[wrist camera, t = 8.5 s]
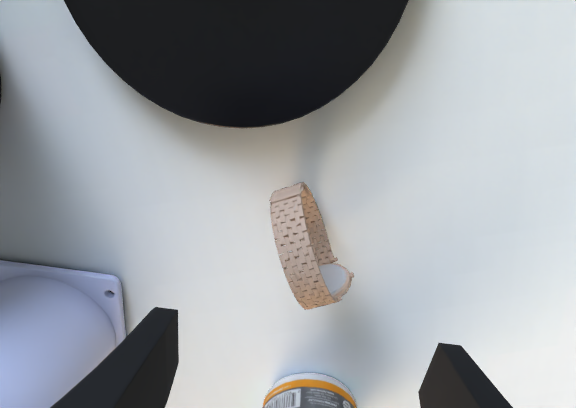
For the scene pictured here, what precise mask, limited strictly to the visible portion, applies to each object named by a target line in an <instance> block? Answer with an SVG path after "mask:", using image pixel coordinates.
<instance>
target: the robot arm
mask: <svg viewBox="0 0 576 408" xmlns="http://www.w3.org/2000/svg"><path fill="white" fill-rule="evenodd" d="M109 290H110V291H112V292H113V293H111V292H110V291H109ZM178 362H179V361H178V310H174V309H166V308H158V307H155V308H154V309H152V310H151V311H150V312H149V313H148V315H147V316H146V317H145V318H144V319H143V320H142V321H141V322H140V323H139V324H138V325H137V326H136V328H135V329H134V330H133V331H132V332H131V333H130V334H129V335H128V336H127V337H126V331H125V320H124V309H123V298H122V287H121V282H120V280H119V279H118V278H117V277H116V276H114V275H109V274H102V273H94V272H86V271H79V270H71V269H63V268H56V267H48V266H40V265H33V264H25V263H18V262H10V261H2V260H0V408H165V405H166V403H167V400H168V397H169V394H170V390H171V387H172V384H173V380H174V377H175V373H176V370H177V366H178ZM419 399H420V406H421V408H513V407H512V406H511V405H510V404H509V403H508V401H507V400H506V399H505V398H504V397H503V396H502V394H501V393H500V392H499V391H498V390H497V388H496V387H495V386H494V385H493V384H492V382H491V381H490V380H489V379H488V378H487V376H486V375H485V374H484V373H483V371H482V370H481V369H480V368H479V367H478V365H477V364H476V363H475V362H474V361H473V359H472V358H471V357H470V356H469V355H468V353H467V352H466V351H465V350H464V349H463V348H462V346H460V345H452V344H444V343H439V344H438V346H437V348H436V351H435V353H434V356H433V358H432V361H431V363H430V366H429V368H428V370H427V373H426V375H425V378H424V380H423V383H422V385H421V388H420V390H419Z"/></svg>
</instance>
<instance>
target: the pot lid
mask: <svg viewBox="0 0 576 408" xmlns="http://www.w3.org/2000/svg"><path fill="white" fill-rule="evenodd" d="M408 1H409V0H64V2H65V3H66V5H67V7H68V9H69V11H70V13H71V15H72V17H73V18H74V20H75V22H76V24H77V25H78V27H79V28H80V30H81V31H82V33H83V34H84V36H85V37H86V39H87V40H88V42H89V43H90V45H91V46H92V47H93V48H94V49H95V51H96V52H97V53H98V54H99V56H100V57H101V58H102V59H103V60H104V62H105V63H106V64H107V65H108V66H109V67H110V68H111V69H112V70H113V71H114V72H115V73H116V74H117V75H118V76H119V77H120V78H121V79H122V80H123V81H125V82H126V83H127V84H128V85H130V86H131V87H132V88H134V89H135V90H136V91H137V92H139V93H140V94H141V95H143V96H144V97H146V98H147V99H149V100H151V101H152V102H154V103H156V104H157V105H159V106H160V107H162V108H164V109H167V110H169V111H171V112H173V113H175V114H177V115H179V116H182V117H185V118H188V119H191V120H194V121H197V122H200V123H204V124H209V125H214V126H219V127H230V128H256V127H265V126H270V125H276V124H281V123H284V122H287V121H290V120H294V119H297V118H300V117H302V116H304V115H306V114H309V113H311V112H313V111H315V110H317V109H319V108H321V107H322V106H324V105H326V104H327V103H329V102H330V101H332V100H333V99H335V98H336V97H338V96H339V95H341V94H342V93H343V92H344V91H345V90H346V89H348V88H349V87H350V86H351V85H352V84H354V83H355V82H356V81H357V80H358V79H359V78H360V77H361V76H362V75H363V73H364V72H365V71H366V70H367V69H368V68H369V67H370V66H371V65H372V64H373V62H374V61H375V60H376V58H377V57H378V55H379V54H380V53H381V51H382V50H383V49H384V47H385V46H386V44H387V43H388V41H389V39H390V38H391V36H392V34H393V32H394V31H395V29H396V27H397V25H398V23H399V22H400V19H401V17H402V15H403V12H404V10H405V8H406V5H407V3H408Z"/></svg>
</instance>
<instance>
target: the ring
mask: <svg viewBox="0 0 576 408" xmlns="http://www.w3.org/2000/svg"><path fill="white" fill-rule="evenodd" d="M269 201H271V202H270V203H271V207H270V210H271V220H272V228H273V233H274V239H275V240H276V241H275V243H276V247H277V250H278V254H282V253H283V254H282V255H279V258H280V261H281V264H282V267H283V268H284V273H285V276H286V278H287V281H288V282H289V285H290V288H291V290H292V292H293V293H294V296H295V298H296V299H297V301H298V302H299V304H300V305H301V306H302V307H303V308H304V309H305V310H306V309H312V308H314V307H320V306H324V305H328V304H331V303H336V302H339V301H340V300H342V298H341V297H342V296H343V295H344V294H346V293H347V291H348V289H349V288H350V286H351V281H352V278H353V277H354V274H353V273H349V271H348V270H347V269H346V268H345V267H343V266H341V265H339V264H332V263H333V262H336V261H337V260H338V259H337V257H336V258H334V256H333V253H332V251H331V247H330V243H329V240H328V236H327V233H326V230H325V226H324V224H323V221H322V219H321V215H320V212H319V210H318V207H317V205H316V202H315V200H314V198H313V196H312V193H311V192H310V190H309V188H308V186H307V185H306V184H305V183H304V182H302V183H298V184H296V185H295V184H294V185H292V186H290V187H285V188H282V189H280V190H277V191H274V192H273V193H272V196H271V197H270V200H269ZM317 225H318V226H317ZM290 228H291V229H290ZM322 229H324V230H322ZM279 231H281V232H279ZM317 231H318V232H317ZM308 233H310V234H308ZM321 235H323V236H321ZM315 237H316V238H315ZM277 239H279V240H277ZM301 240H302V241H301ZM325 240H327V241H325ZM294 242H295V243H294ZM318 242H321V243H318ZM311 244H312V245H311ZM283 245H286V246H283ZM324 246H326V247H324ZM299 248H302V249H299ZM316 248H319V249H316ZM288 251H292V252H288ZM322 253H323V254H322ZM297 257H298V258H297ZM326 258H327V259H326ZM288 259H289V260H288ZM286 260H287V261H286ZM302 270H304V271H302Z"/></svg>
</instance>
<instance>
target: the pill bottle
mask: <svg viewBox="0 0 576 408" xmlns="http://www.w3.org/2000/svg"><path fill="white" fill-rule="evenodd" d="M263 408H357V407H356V402H355V399H354V396H353V395H352V393H351V392H350V390H349V389H348V388H347V387H346V386H345V385H344V384H343V383H341V382H340V381H338V380H336V379H334V378H332V377H329V376H327V375H323V374H317V373H299V374H294V375H290V376H287V377H285V378H283V379H281V380H279V381H277V382H276V383H275V384H274V385H273V386H272V387H271V388H270V389H269V390H268V391H267V393H266V395H265V398H264V402H263Z"/></svg>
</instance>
